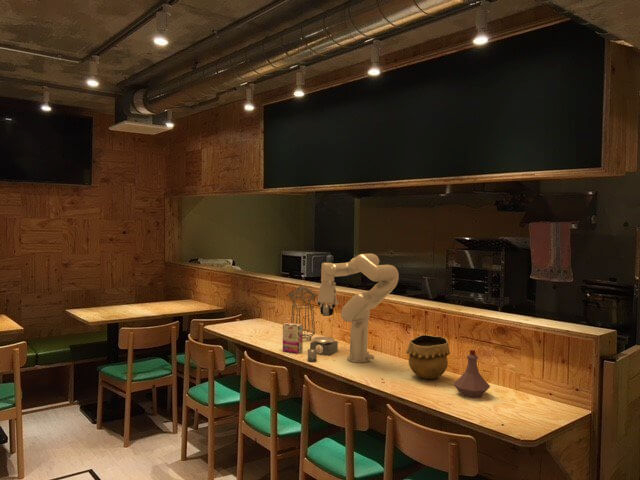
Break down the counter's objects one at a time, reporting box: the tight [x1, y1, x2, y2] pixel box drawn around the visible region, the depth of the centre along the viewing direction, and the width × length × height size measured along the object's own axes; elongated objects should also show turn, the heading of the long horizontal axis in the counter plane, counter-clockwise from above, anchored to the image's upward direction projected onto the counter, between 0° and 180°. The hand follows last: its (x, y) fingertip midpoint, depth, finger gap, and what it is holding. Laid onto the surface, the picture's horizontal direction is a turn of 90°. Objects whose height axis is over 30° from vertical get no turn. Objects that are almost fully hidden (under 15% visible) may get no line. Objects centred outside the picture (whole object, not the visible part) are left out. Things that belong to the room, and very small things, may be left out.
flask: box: [452, 349, 491, 399], centre depth 238 cm, size 16×16×20 cm
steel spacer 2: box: [321, 304, 332, 317], centre depth 311 cm, size 5×5×6 cm
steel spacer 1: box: [307, 348, 318, 363], centre depth 290 cm, size 5×5×6 cm
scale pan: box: [313, 336, 335, 343], centre depth 309 cm, size 12×12×1 cm
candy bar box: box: [282, 322, 304, 355], centre depth 308 cm, size 11×5×16 cm, turn 62°
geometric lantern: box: [287, 285, 319, 342], centre depth 338 cm, size 16×16×35 cm
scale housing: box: [309, 340, 339, 357], centre depth 309 cm, size 12×12×6 cm
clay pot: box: [405, 334, 451, 380], centre depth 262 cm, size 21×21×20 cm
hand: (326, 314), depth 311 cm, fingers closed on steel spacer 2, 5 cm apart
